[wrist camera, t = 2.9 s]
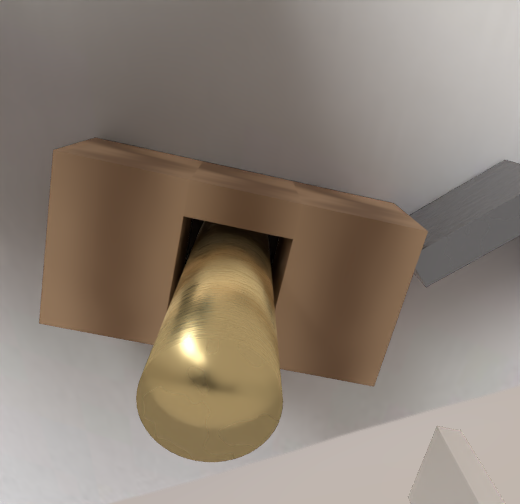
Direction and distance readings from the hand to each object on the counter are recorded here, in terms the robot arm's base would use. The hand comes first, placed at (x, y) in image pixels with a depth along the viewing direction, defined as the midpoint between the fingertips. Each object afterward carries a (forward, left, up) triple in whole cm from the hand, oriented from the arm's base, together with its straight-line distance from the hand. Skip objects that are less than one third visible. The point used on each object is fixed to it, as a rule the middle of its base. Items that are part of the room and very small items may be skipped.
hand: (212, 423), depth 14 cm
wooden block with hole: (0, 0, -17) cm, 17 cm away
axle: (0, 0, -17) cm, 17 cm away
